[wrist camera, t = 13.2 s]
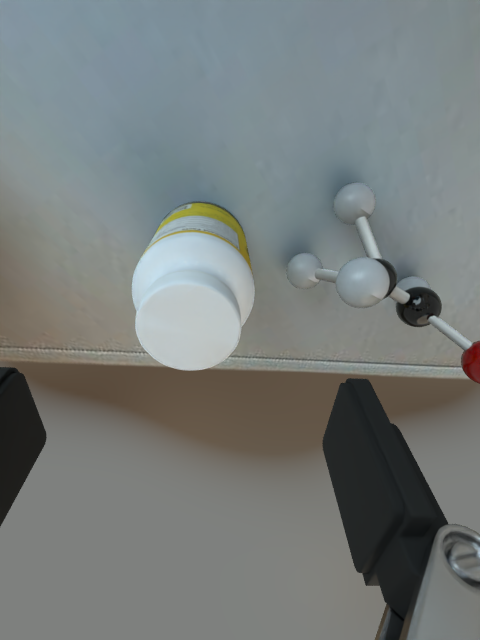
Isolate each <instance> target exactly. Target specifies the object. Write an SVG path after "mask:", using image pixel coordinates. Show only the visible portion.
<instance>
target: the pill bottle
mask: <svg viewBox="0 0 480 640" xmlns="http://www.w3.org/2000/svg"><path fill="white" fill-rule="evenodd" d="M132 297H133V302H134V305H135V308H136V311H137V314H136V321H135V328H136V333H137V336H138V339H139V341H140V343H141V345H142V346H143V348H144V349H145V350H146V351H147V352H148V354H150V355H151V356H152V357H153V358H154V359H155V360H157V361H159V362H160V363H162V364H164V365H166V366H169V367H172V368H175V369H180V370H202V369H206V368H210V367H212V366H215V365H217V364H219V363H220V362H222V361H223V360H225V359H226V358H227V357H228V356H229V355H230V354H231V353H232V352H233V351H234V349H235V348H236V346H237V344H238V342H239V339H240V335H241V327H242V326H243V324H244V323H245V322H246V320H247V319H248V317H249V315H250V313H251V310H252V307H253V303H254V297H255V286H254V279H253V274H252V269H251V263H250V258H249V253H248V248H247V244H246V239H245V235H244V232H243V230H242V227H241V226H240V224H239V222H238V221H237V220H236V218H235V217H234V216H233V215H232V214H231V213H230V212H229V211H227V210H226V209H224V208H223V207H221V206H219V205H216V204H213V203H210V202H204V201H196V202H189V203H185V204H183V205H181V206H178V207H177V208H175V209H174V210H172V211H171V212H170V213H169V214H168V215H167V216H166V217H165V218H164V219H163V221H162V222H161V224H160V226H159V228H158V230H157V232H156V233H155V235H154V237H153V239H152V240H151V242H150V244H149V245H148V247H147V249H146V250H145V252H144V254H143V255H142V257H141V259H140V260H139V262H138V264H137V267H136V269H135V272H134V275H133V280H132Z"/></svg>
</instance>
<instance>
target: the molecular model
mask: <svg viewBox="0 0 480 640" xmlns="http://www.w3.org/2000/svg"><path fill="white" fill-rule="evenodd" d="M375 205H376V198H375V194H374V192H373V190H372V189H371V188H370V187H369V186H368V185H366V184H364V183H360V182H354V183H350V184H347V185H345V186H344V187H343V188H341V189H340V190H339V192H338V193H337V194H336V196H335V199H334V204H333V208H334V212H335V215H336V216H337V218H338V219H339V220H340V221H341V222H343V223H345V224H349V225H355V226H356V228H357V231H358V234H359V236H360V239H361V242H362V244H363V247H364V250H365V252H366V255H367V257H360V258H355V259H353V260H350V261H349V262H347V263H346V264H345V265H344V266H343V267H342V268H341V269H340V271H333V270H327V269H323V266H322V263H321V261H320V260H319V258H318V257H316V256H315V255H313V254H310V253H300V254H297V255H296V256H294V257H293V258H292V259H291V260H290V261H289V263H288V265H287V269H286V274H287V278H288V280H289V282H290V283H291V284H292V285H293V286H295V287H296V288H299V289H310V288H312V287H314V286H316V285H317V284H318V283H319V282H320V280H323V281H328V282H333V283H336V290H337V293H338V295H339V297H340V298H341V299H342V300H343V301H344V302H345V303H346V304H348V305H350V306H352V307H356V308H368V307H371V306H374V305H376V304H377V303H379V302H380V301H381V300H382V299H385V298H386V297H388V296H389V297H390V298H392V299H394V300H395V302H396V312H397V315H398V317H399V318H400V319H401V320H402V321H403V322H404V323H405V324H407V325H410V326H413V327H424V326H427V325H430V324H432V325H433V326H434V327H435V328H437V329H438V330H439V331H440V332H442V333H443V334H444V335H446V336H447V337H448V338H449V339H451V340H452V341H453V342H454V343H456V344H457V345H458V346H459V347H461V348H462V349H463V350H464V352H463V354H462V356H461V366H462V369H463V371H464V372H465V374H466V375H467V376H468V377H469V378H470V379H471V380H473V381H475V382H477V383H479V384H480V341H477V342H474V343H472V342H471V341H469V340H468V339H467V338H465V337H464V336H463V335H461V334H460V333H459V332H458V331H456V330H455V329H454V328H452V327H451V326H450V325H448V324H447V323H446V322H445V321H443V320H442V319H441V318H439V315H440V313H441V309H442V303H441V300H440V298H439V296H438V295H437V294H436V293H435V292H434V291H433V290H431V287H430V285H429V283H428V282H427V281H426V280H424V279H423V278H420V277H416V276H410V277H406V278H404V279H402V280H400V281H399V282H398V283H397V273H396V270H395V268H394V267H393V266H392V265H391V264H390V263H389V262H388V261H386V260H384V259H383V258H382V256H381V253H380V251H379V248H378V246H377V243H376V240H375V238H374V235H373V233H372V230H371V228H370V225H369V223H368V220H367V219H368V218H369V217H370V216H371V214H372V213H373V211H374V209H375Z"/></svg>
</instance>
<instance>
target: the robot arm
mask: <svg viewBox="0 0 480 640" xmlns="http://www.w3.org/2000/svg"><path fill="white" fill-rule="evenodd" d="M45 442H46V431H45V429H44V426H43V424H42V421H41V418H40V416H39V413H38V410H37V408H36V405H35V402H34V400H33V397H32V395H31V392H30V390H29V387H28V384H27V382H26V379H25V376H24V375H23V374H22V373H19V372H18V370H17V369H16V368H6V367H0V526H1V524H2V522H3V521H4V519H5V517H6V515H7V513H8V511H9V510H10V508H11V506H12V504H13V502H14V500H15V498H16V497H17V495H18V493H19V491H20V489H21V487H22V485H23V484H24V482H25V480H26V478H27V476H28V474H29V473H30V470H31V469H32V467H33V465H34V463H35V462H36V460H37V458H38V456H39V454H40V452H41V451H42V449H43V447H44V445H45ZM323 451H324V455H325V458H326V462H327V466H328V469H329V473H330V477H331V481H332V485H333V488H334V492H335V496H336V499H337V503H338V507H339V510H340V514H341V518H342V522H343V526H344V529H345V533H346V537H347V540H348V544H349V548H350V552H351V555H352V559H353V563H354V566H355V568H356V570H357V572H359V573H363V577H364V581H365V584H366V586H367V585H368V586H373V585H374V586H380V588H381V591H382V594H383V597H384V600H385V602H386V603H387V604H386V607H385V610H384V613H383V617H382V619H381V622H380V625H379V629H378V631H377V634H376V637H375V640H480V534H479V533H477V532H476V531H474V530H472V529H470V528H468V527H465V526H462V525H457V524H448V522H447V520H446V518H445V516H444V514H443V512H442V510H441V509H440V507H439V505H438V503H437V501H436V499H435V497H434V495H433V493H432V491H431V489H430V487H429V485H428V483H427V482H426V480H425V478H424V476H423V474H422V472H421V470H420V468H419V466H418V464H417V462H416V460H415V459H414V457H413V455H412V453H411V451H410V449H409V447H408V445H407V443H406V441H405V439H404V438H403V435H402V433H401V432H400V430H399V429H398V427H397V426H396V425H394V424H391V423H390V421H389V419H388V417H387V415H386V413H385V411H384V409H383V407H382V405H381V403H380V401H379V399H378V398H377V395H376V393H375V391H374V389H373V387H372V385H371V383H370V382H369V380H367V379H351V378H350V379H347V380H346V383H341V384H340V386H339V390H338V393H337V396H336V399H335V402H334V406H333V409H332V412H331V415H330V418H329V421H328V425H327V428H326V431H325V434H324V437H323Z"/></svg>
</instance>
